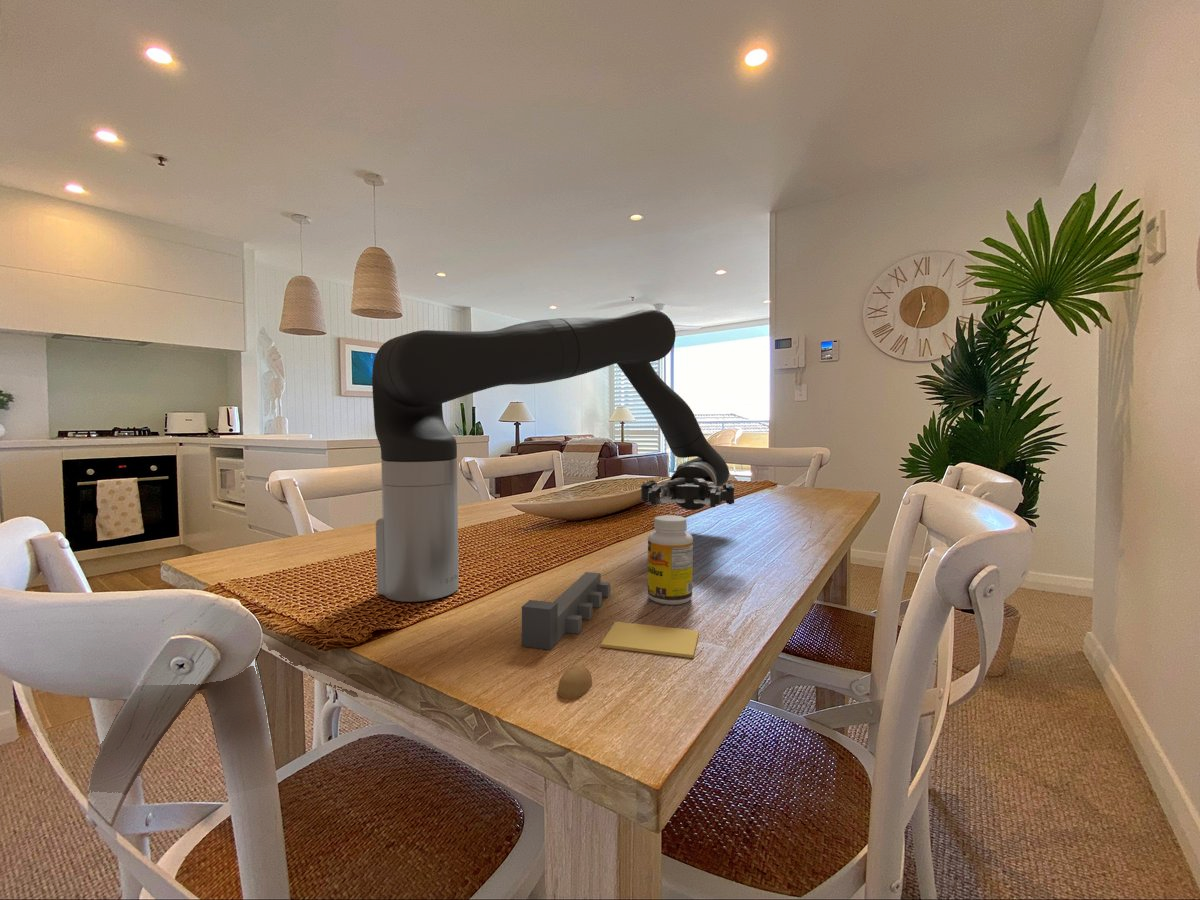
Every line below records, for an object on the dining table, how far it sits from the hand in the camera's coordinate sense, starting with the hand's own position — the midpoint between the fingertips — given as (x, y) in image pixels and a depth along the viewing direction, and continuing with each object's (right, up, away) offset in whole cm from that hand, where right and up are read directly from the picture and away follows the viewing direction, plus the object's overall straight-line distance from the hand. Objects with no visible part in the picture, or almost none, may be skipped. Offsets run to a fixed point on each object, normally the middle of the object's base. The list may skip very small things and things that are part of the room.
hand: (682, 499), depth 76 cm
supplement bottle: (-3, -12, -10) cm, 16 cm away
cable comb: (-15, -12, -16) cm, 25 cm away
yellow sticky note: (-7, -12, -23) cm, 27 cm away
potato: (-14, -13, -32) cm, 37 cm away
